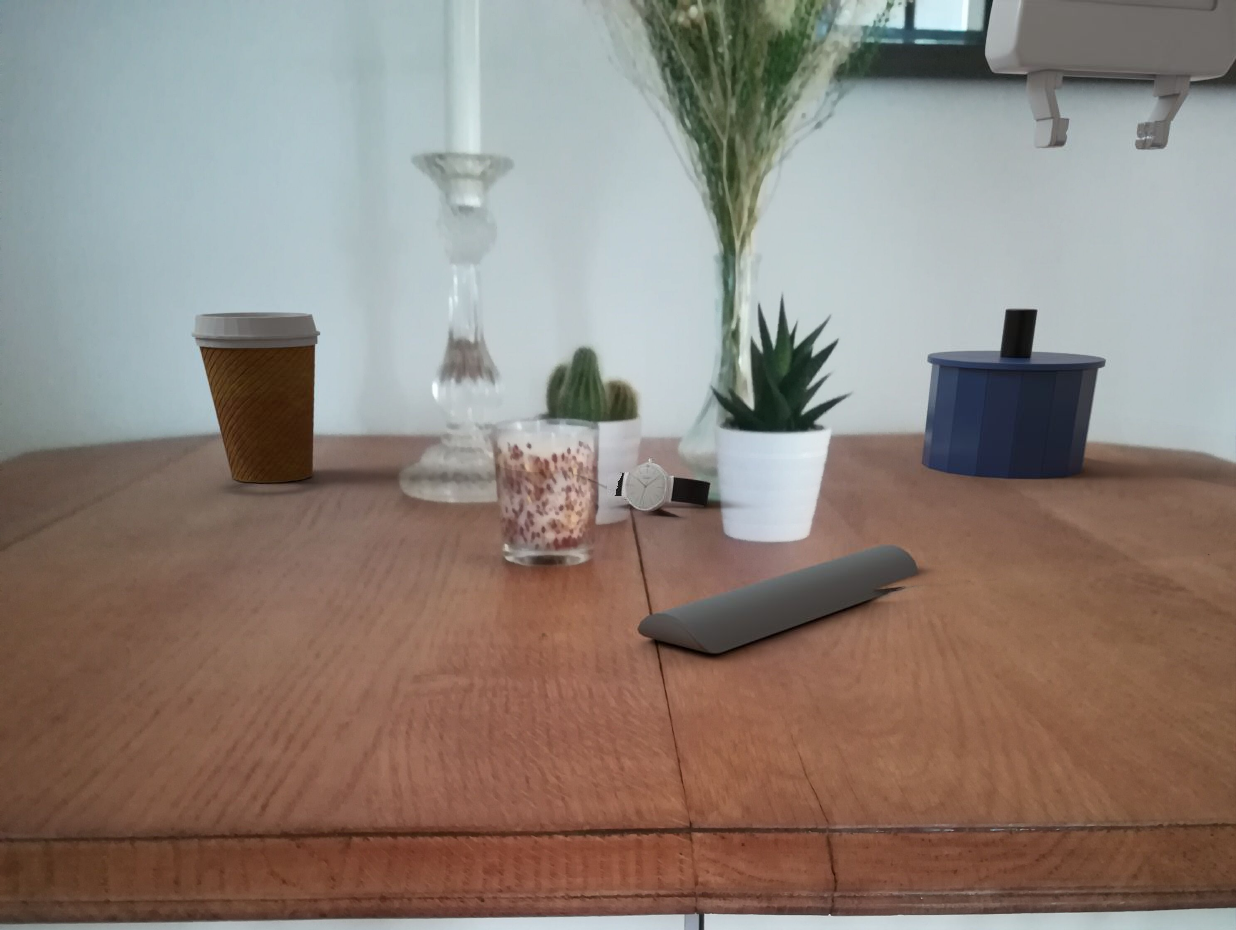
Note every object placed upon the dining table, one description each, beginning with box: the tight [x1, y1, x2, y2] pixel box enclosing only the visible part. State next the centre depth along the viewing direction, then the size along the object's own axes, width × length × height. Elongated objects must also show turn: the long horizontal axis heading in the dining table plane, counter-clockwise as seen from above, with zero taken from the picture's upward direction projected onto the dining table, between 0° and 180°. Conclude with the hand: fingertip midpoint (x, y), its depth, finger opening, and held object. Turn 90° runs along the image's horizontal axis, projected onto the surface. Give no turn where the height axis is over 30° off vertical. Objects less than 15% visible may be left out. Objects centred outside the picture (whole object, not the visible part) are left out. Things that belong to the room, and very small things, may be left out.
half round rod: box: [637, 544, 919, 654], centre depth 61 cm, size 4×20×2 cm, turn 138°
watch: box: [615, 458, 711, 513], centre depth 85 cm, size 8×5×4 cm, turn 63°
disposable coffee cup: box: [190, 311, 321, 484], centre depth 95 cm, size 10×10×12 cm
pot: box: [921, 364, 1100, 480], centre depth 99 cm, size 13×13×8 cm
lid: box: [926, 308, 1107, 371], centre depth 96 cm, size 14×14×5 cm
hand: (1100, 148), depth 89 cm, fingers open, 8 cm apart
